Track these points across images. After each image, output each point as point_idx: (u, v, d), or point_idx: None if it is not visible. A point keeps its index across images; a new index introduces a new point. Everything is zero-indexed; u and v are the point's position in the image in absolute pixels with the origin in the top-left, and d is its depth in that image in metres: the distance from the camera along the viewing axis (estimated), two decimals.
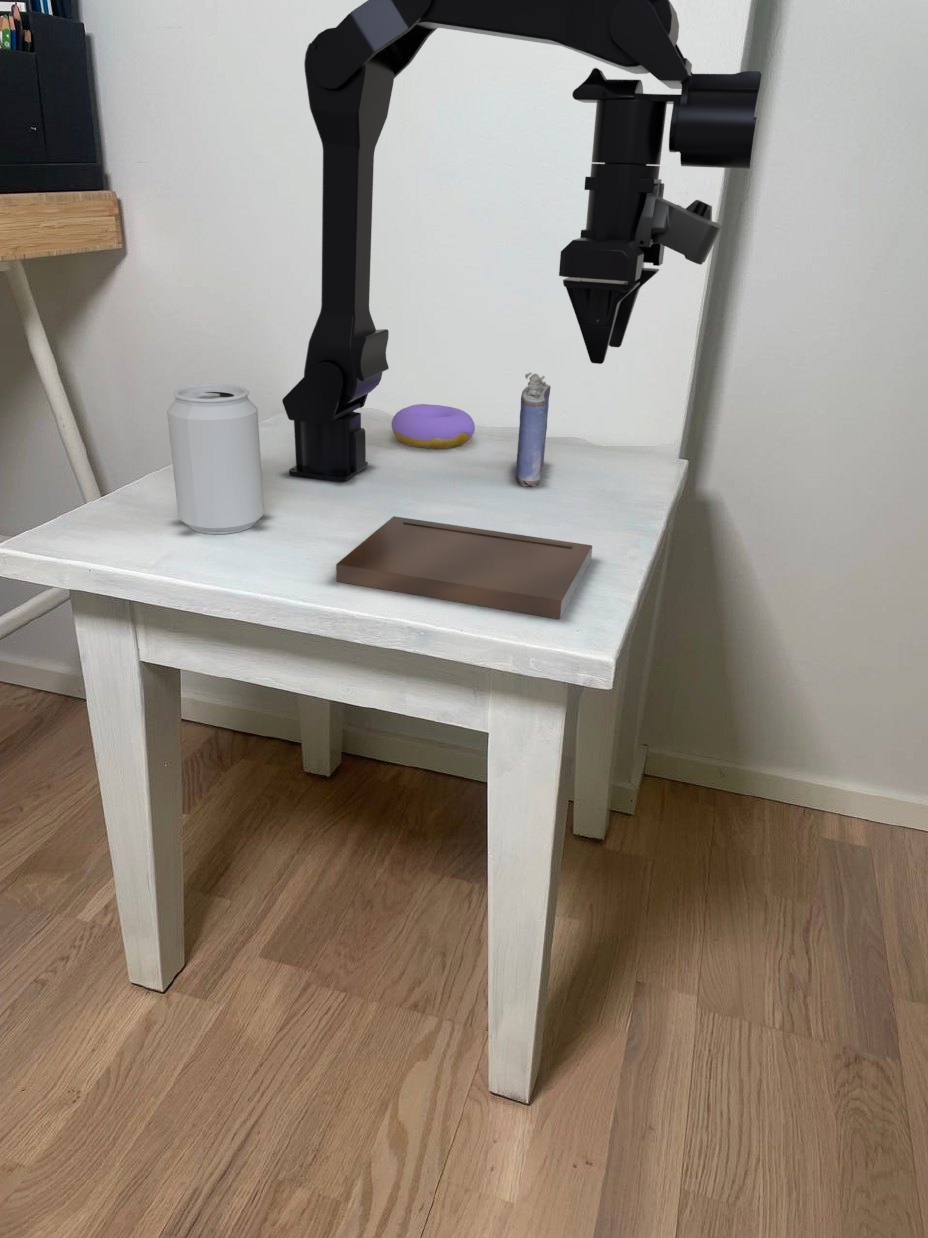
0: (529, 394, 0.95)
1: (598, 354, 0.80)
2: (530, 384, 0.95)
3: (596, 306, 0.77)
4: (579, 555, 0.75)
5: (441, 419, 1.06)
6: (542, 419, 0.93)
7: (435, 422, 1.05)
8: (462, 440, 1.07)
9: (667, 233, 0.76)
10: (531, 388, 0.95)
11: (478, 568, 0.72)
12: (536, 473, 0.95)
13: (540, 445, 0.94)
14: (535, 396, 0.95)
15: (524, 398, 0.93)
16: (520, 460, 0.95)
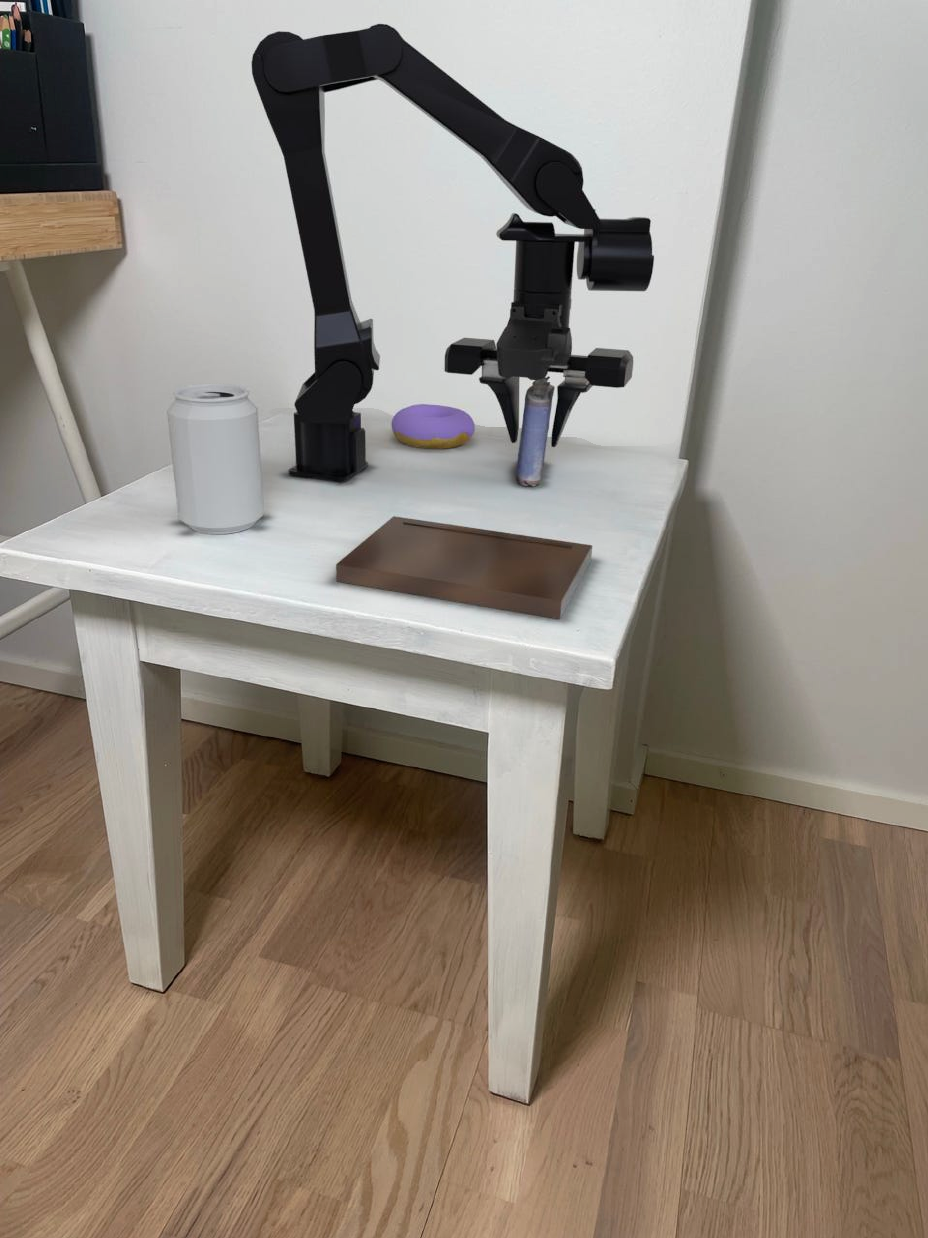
0: (533, 394, 0.95)
1: None
2: (535, 384, 0.95)
3: None
4: (579, 555, 0.75)
5: (441, 419, 1.06)
6: (545, 419, 0.93)
7: (435, 422, 1.05)
8: (462, 440, 1.07)
9: None
10: (536, 388, 0.95)
11: (478, 568, 0.72)
12: (537, 473, 0.95)
13: (542, 445, 0.94)
14: (539, 396, 0.95)
15: (528, 398, 0.93)
16: (521, 459, 0.95)
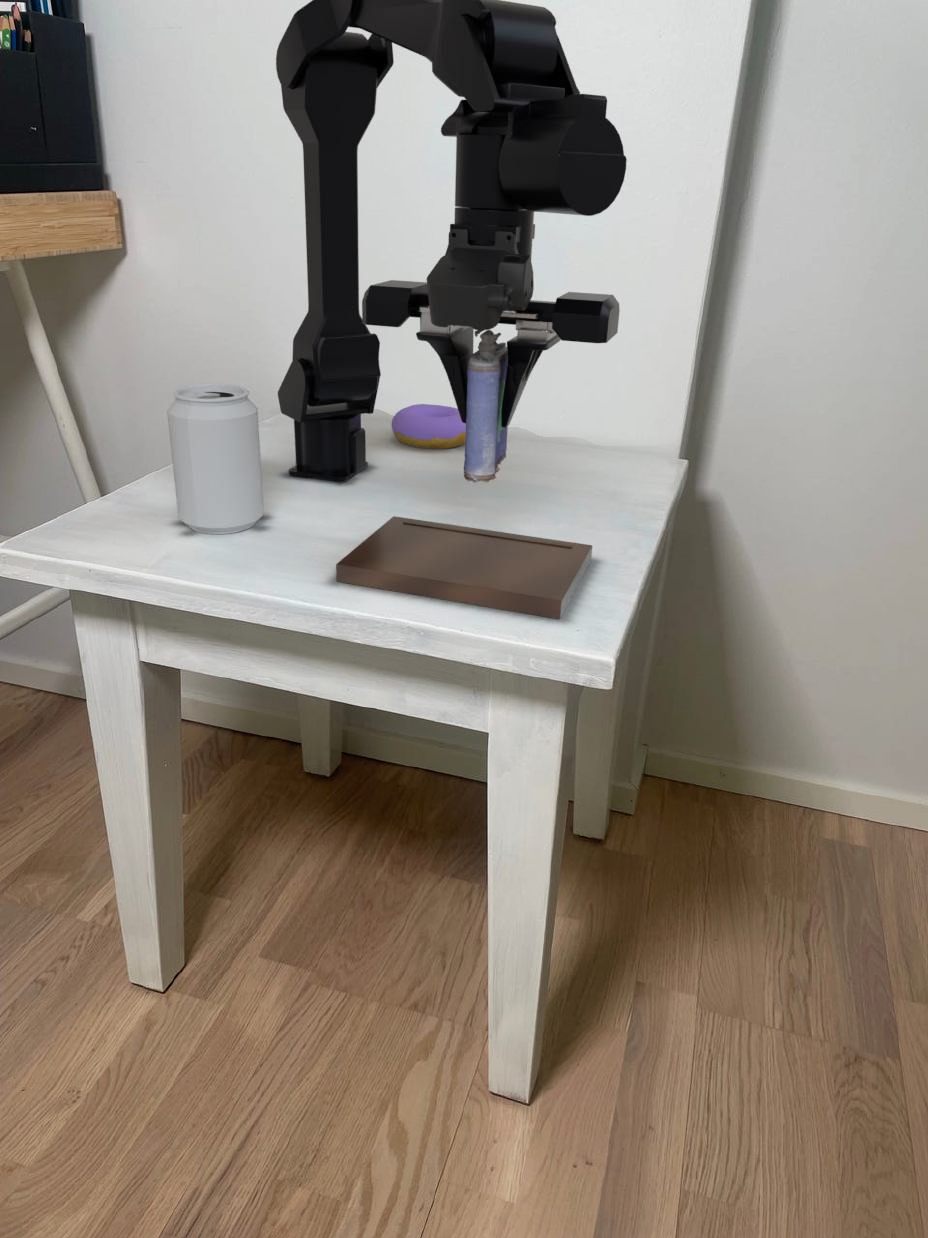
0: (479, 358, 0.70)
1: None
2: (481, 344, 0.70)
3: None
4: (579, 555, 0.75)
5: (441, 419, 1.06)
6: (494, 390, 0.68)
7: (435, 422, 1.05)
8: (462, 440, 1.07)
9: None
10: (482, 349, 0.70)
11: (478, 568, 0.72)
12: (489, 465, 0.70)
13: (493, 426, 0.69)
14: (488, 360, 0.70)
15: (470, 361, 0.68)
16: (466, 447, 0.70)
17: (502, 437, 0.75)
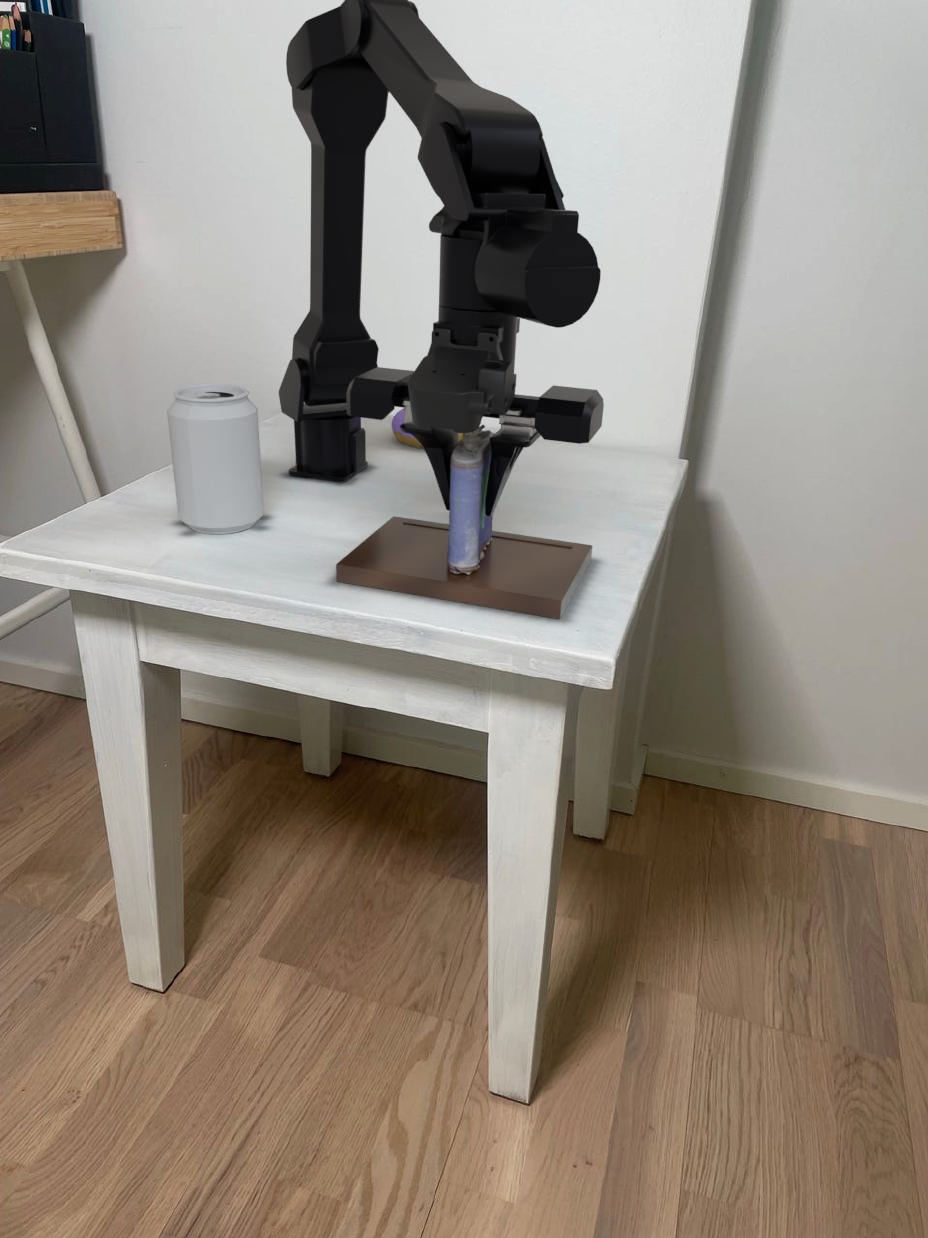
0: (463, 449, 0.70)
1: None
2: (465, 436, 0.70)
3: None
4: (579, 555, 0.75)
5: None
6: (477, 486, 0.68)
7: None
8: None
9: None
10: (466, 441, 0.70)
11: (478, 568, 0.72)
12: (471, 557, 0.70)
13: (475, 520, 0.69)
14: (472, 452, 0.70)
15: (453, 456, 0.68)
16: (449, 539, 0.70)
17: (487, 522, 0.75)
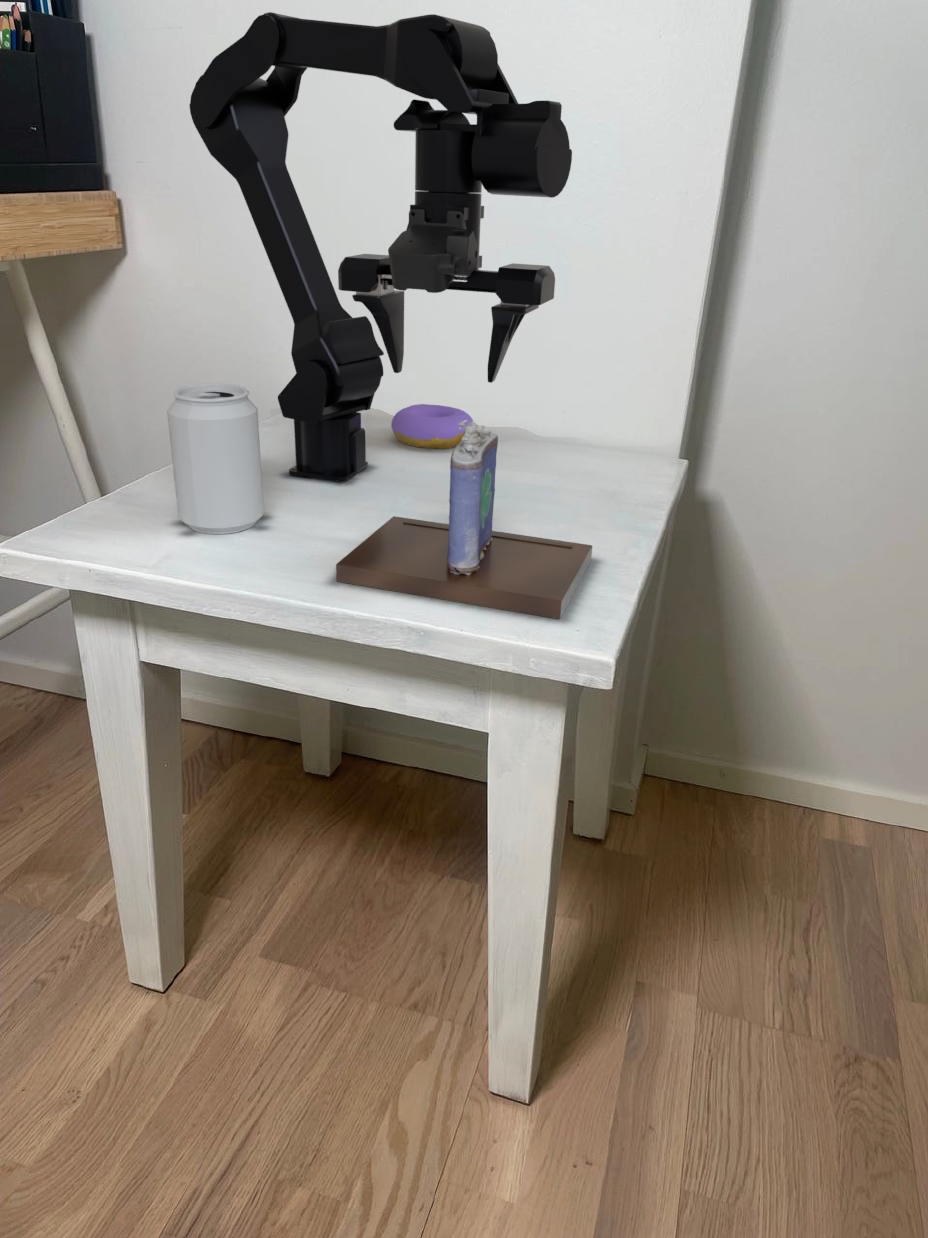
0: (463, 450, 0.70)
1: None
2: (465, 437, 0.70)
3: None
4: (579, 555, 0.75)
5: (441, 419, 1.06)
6: (477, 487, 0.68)
7: (435, 422, 1.05)
8: None
9: None
10: (466, 442, 0.70)
11: (478, 568, 0.72)
12: (471, 558, 0.70)
13: (475, 521, 0.69)
14: (472, 453, 0.70)
15: (453, 457, 0.68)
16: (449, 540, 0.70)
17: (487, 522, 0.75)
